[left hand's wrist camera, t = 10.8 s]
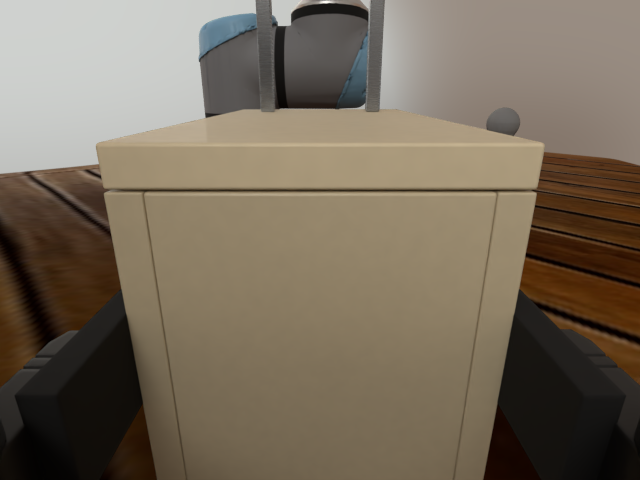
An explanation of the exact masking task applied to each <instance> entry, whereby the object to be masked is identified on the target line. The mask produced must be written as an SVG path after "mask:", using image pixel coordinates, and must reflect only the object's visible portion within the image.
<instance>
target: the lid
mask: <svg viewBox="0 0 640 480" xmlns="http://www.w3.org/2000/svg"><path fill="white" fill-rule="evenodd" d="M384 3H385V0H369V19H368V46H367V73H366V101H365V109H275V90H274V62H273V34H272V6H271V0H256V18H257V39H258V60H259V81H260V102H261V109H243V110H239V111H235V112H230V113H226V114H222V115H217V116H213V117H208V118H204V119H200V120H195V121H191V122H187V123H182V124H178V125H173V126H169V127H165V128H160V129H156V130H152V131H147V132H143V133H138V134H134V135H130V136H125V137H121V138H117V139H112V140H108V141H103V142H99V143H97V144H96V150H97V156H98V161H99V166H100V172H101V177H102V182H103V187H104V188H105V189H108V190H533V189H536V188H537V186H538V181H539V175H540V170H541V165H542V159H543V154H544V149H545V145H544V144H543V143H541V142H537V141H533V140H528V139H524V138H519V137H515V136H511V135H506V134H502V133H497V132H493V131H489V130H484V129H480V128H475V127H471V126H467V125H462V124H458V123H453V122H449V121H445V120H441V119H436V118H432V117H427V116H423V115H419V114H414V113H410V112H405V111H401V110H397V109H379V106H380V86H381V66H382V45H383V24H384Z"/></svg>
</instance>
